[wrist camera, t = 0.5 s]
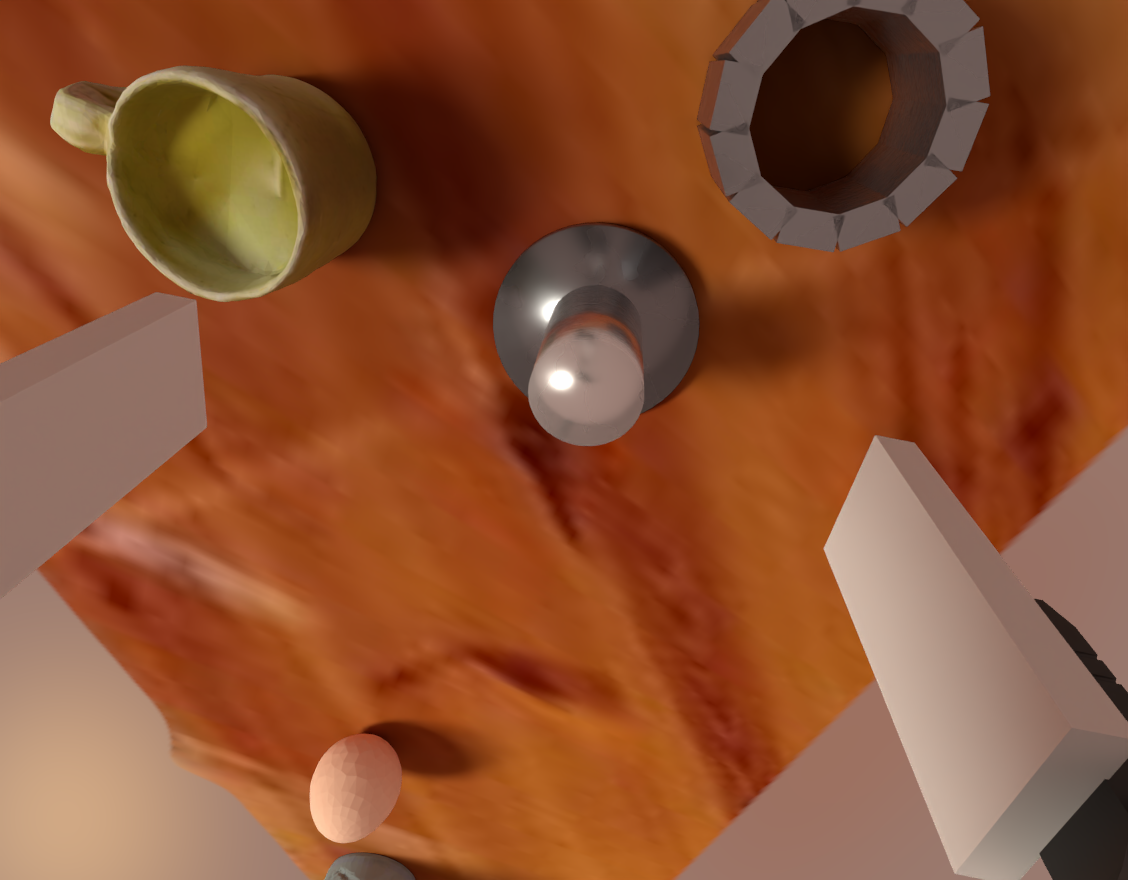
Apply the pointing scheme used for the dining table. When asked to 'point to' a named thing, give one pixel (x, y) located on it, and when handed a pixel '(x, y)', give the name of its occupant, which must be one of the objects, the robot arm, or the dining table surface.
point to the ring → (909, 138)
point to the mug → (226, 174)
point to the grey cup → (367, 868)
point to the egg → (355, 787)
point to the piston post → (595, 329)
